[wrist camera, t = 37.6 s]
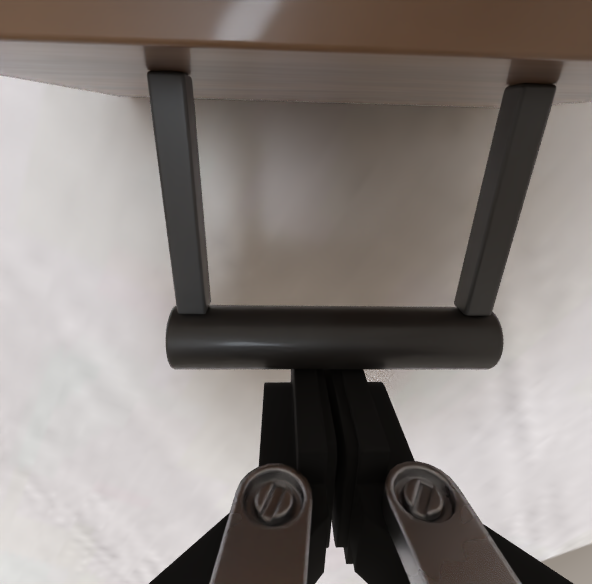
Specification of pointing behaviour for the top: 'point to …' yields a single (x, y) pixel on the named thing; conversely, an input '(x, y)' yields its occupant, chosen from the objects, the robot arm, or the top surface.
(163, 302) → the top surface
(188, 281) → the drawer
